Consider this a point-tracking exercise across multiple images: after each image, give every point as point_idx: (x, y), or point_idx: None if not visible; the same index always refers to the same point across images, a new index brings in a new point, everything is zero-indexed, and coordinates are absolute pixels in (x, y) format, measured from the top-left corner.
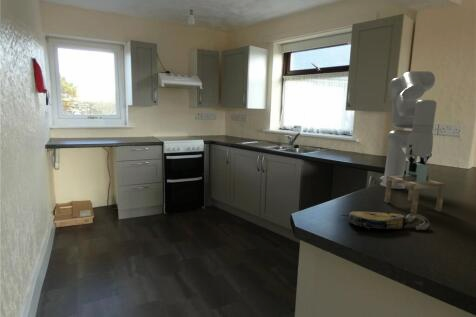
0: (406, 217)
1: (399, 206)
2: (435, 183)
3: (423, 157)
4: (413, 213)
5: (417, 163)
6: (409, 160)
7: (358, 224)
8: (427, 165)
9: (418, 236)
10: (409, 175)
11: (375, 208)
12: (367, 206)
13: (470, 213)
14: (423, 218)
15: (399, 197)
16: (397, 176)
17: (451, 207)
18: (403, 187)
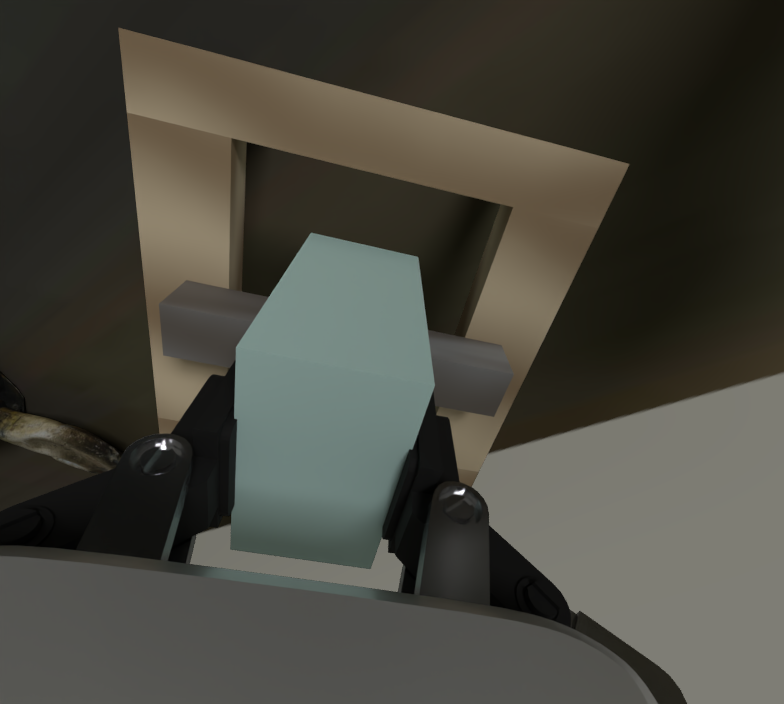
0: (6, 437)
1: (274, 210)
2: None
3: (496, 600)
4: (60, 441)
5: (377, 454)
6: (92, 490)
7: None
8: (359, 566)
9: (30, 467)
10: (237, 344)
11: (46, 166)
12: (2, 101)
13: (548, 434)
14: (91, 466)
15: (533, 24)
16: (286, 120)
17: (587, 356)
18: None
